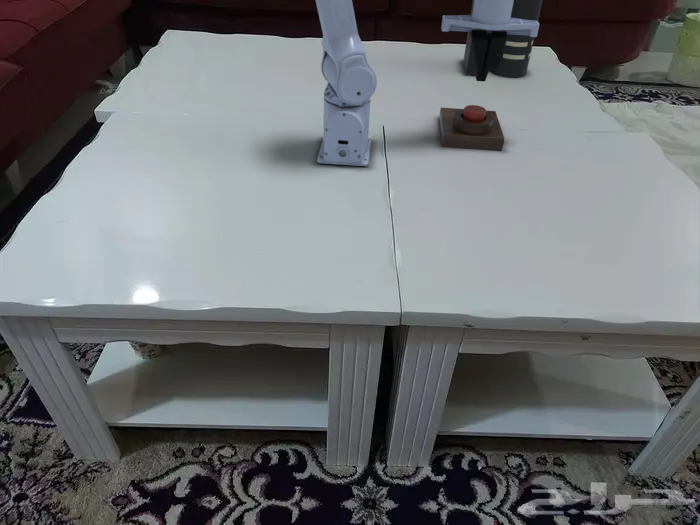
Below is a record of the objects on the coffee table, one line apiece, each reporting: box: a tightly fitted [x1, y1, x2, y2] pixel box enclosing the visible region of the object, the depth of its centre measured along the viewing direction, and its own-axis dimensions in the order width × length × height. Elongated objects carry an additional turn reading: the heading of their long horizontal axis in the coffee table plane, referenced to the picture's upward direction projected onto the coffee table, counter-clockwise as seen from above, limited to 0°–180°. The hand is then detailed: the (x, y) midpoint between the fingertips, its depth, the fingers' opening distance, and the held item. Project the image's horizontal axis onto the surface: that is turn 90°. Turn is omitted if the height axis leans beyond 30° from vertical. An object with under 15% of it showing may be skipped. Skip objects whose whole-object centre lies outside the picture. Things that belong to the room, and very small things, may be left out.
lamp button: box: [463, 104, 487, 122], centre depth 97 cm, size 4×4×2 cm
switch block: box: [438, 107, 505, 151], centre depth 100 cm, size 12×10×4 cm
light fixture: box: [462, 0, 544, 78], centre depth 124 cm, size 10×14×18 cm
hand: (480, 79), depth 93 cm, fingers closed
